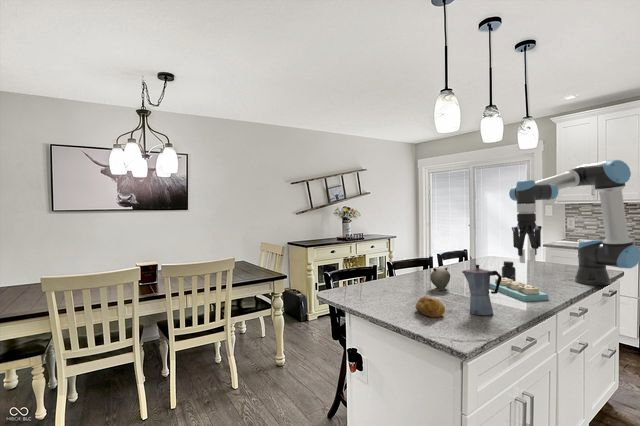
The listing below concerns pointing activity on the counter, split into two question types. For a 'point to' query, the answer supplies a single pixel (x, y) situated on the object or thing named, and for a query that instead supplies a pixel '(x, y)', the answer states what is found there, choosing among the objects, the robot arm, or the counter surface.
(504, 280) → the key one
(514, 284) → the key two
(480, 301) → the moka pot
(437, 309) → the bread roll
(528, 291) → the key three
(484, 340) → the counter surface
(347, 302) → the counter surface
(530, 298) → the teal puzzle board
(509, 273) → the supplement bottle
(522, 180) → the robot arm
